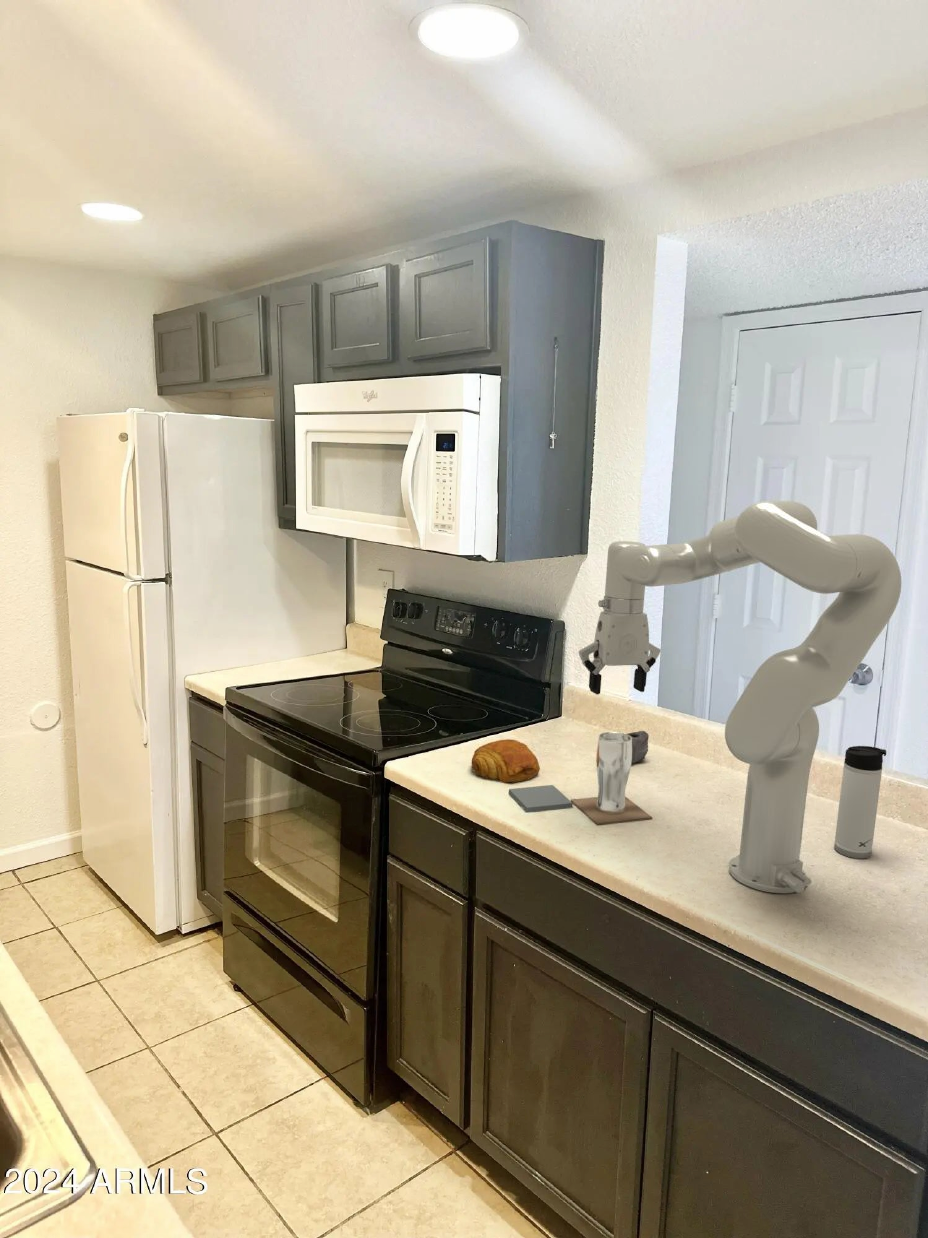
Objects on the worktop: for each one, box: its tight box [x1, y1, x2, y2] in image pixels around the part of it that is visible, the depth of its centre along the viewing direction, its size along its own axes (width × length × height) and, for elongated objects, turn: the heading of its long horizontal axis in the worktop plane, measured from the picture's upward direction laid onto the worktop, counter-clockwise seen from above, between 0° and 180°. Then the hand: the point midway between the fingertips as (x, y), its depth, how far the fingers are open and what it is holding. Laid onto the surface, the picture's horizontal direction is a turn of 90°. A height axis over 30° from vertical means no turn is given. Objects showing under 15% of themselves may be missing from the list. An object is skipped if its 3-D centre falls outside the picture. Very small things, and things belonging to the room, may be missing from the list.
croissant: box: [471, 738, 541, 783], centre depth 188 cm, size 14×16×8 cm
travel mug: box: [833, 745, 887, 860], centre depth 152 cm, size 6×7×20 cm
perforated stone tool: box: [626, 730, 650, 765], centre depth 196 cm, size 15×5×7 cm, turn 121°
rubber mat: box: [508, 784, 574, 813], centre depth 173 cm, size 10×10×1 cm
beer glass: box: [595, 731, 632, 814], centre depth 168 cm, size 7×7×15 cm
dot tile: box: [570, 796, 653, 826], centre depth 169 cm, size 12×12×1 cm
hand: (617, 691), depth 165 cm, fingers open, 9 cm apart
